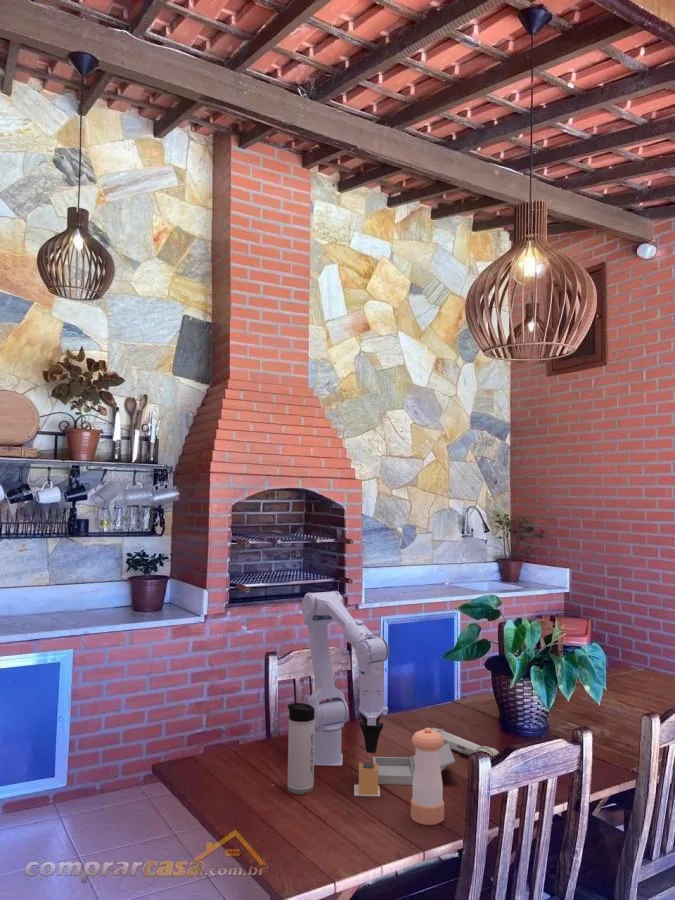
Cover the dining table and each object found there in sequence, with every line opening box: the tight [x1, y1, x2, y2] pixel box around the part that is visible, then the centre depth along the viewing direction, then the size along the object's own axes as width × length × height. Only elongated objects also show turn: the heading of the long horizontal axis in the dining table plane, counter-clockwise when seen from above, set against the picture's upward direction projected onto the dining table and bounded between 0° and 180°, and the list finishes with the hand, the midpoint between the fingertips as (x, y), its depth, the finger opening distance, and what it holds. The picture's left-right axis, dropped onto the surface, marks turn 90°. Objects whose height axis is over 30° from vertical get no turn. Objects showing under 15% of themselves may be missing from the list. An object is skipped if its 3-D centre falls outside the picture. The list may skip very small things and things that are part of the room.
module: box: [358, 762, 379, 794], centre depth 166 cm, size 4×4×6 cm
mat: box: [353, 784, 381, 797], centre depth 166 cm, size 6×6×1 cm
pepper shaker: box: [410, 727, 445, 826], centre depth 154 cm, size 7×7×19 cm
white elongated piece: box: [429, 727, 500, 756], centre depth 190 cm, size 5×7×25 cm
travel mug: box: [287, 702, 315, 795], centre depth 168 cm, size 6×7×20 cm
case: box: [372, 744, 456, 786], centre depth 175 cm, size 20×13×6 cm, turn 89°
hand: (370, 746), depth 169 cm, fingers open, 7 cm apart
